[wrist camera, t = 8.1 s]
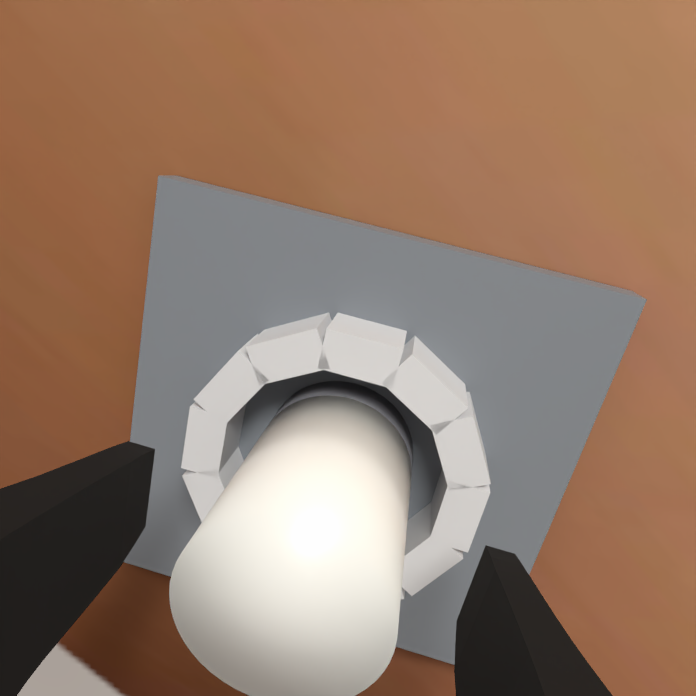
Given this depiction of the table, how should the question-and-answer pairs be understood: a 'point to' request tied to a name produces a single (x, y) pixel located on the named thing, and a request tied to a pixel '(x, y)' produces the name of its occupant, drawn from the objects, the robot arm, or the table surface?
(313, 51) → the table surface
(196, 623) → the rounded peg
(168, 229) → the socket holder
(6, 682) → the robot arm
